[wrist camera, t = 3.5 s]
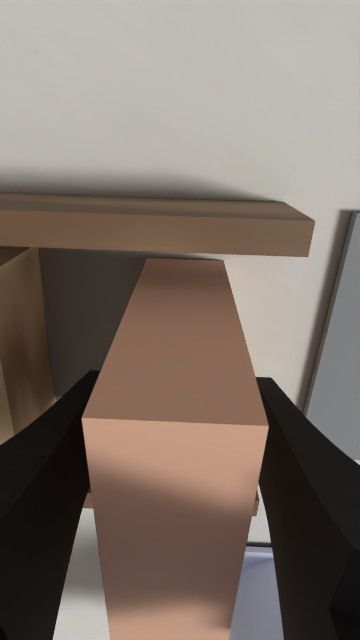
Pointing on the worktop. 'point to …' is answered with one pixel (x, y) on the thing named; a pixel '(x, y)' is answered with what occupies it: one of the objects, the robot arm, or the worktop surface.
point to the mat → (340, 356)
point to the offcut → (22, 342)
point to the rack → (154, 228)
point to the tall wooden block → (175, 455)
